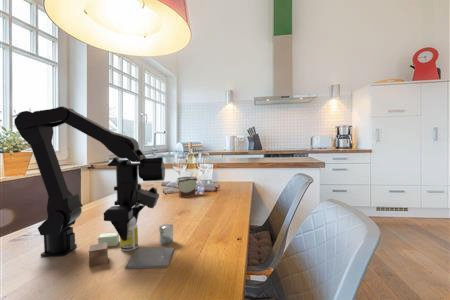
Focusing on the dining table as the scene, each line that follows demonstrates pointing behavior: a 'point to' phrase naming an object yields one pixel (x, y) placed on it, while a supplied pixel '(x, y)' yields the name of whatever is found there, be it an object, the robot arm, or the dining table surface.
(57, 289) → the dining table surface
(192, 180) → the food container
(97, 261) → the walnut block
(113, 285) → the dining table surface
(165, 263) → the coaster
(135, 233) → the supplement bottle
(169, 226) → the metal shaker
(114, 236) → the sage box
